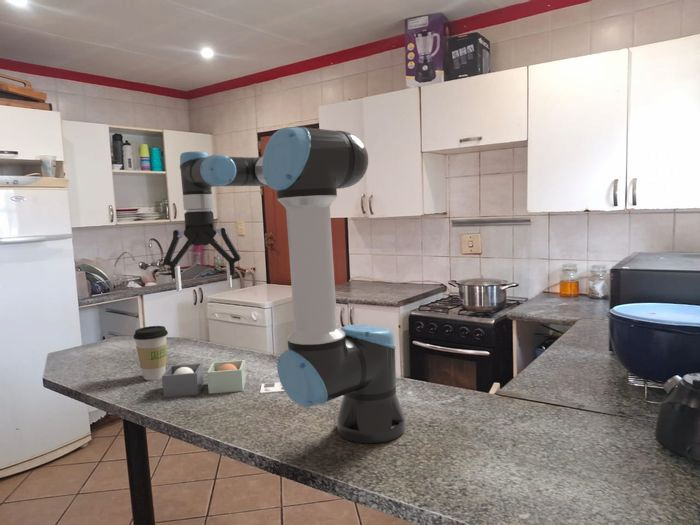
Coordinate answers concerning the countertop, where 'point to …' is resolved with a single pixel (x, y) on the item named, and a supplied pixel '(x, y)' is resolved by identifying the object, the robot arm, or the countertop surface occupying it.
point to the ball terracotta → (227, 367)
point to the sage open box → (226, 377)
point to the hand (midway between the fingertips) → (204, 288)
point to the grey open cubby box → (183, 381)
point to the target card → (271, 387)
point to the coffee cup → (152, 351)
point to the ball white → (183, 370)
